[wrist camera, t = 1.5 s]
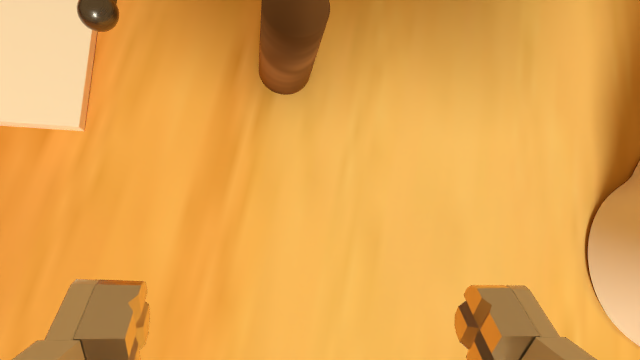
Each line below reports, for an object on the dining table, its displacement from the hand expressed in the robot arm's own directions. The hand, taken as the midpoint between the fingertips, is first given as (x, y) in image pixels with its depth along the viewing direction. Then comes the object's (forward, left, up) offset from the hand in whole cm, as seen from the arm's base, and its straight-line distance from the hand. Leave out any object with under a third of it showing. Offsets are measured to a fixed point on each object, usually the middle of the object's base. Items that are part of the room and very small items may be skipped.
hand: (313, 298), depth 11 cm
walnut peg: (0, -16, -21) cm, 26 cm away
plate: (+20, -16, -21) cm, 33 cm away
